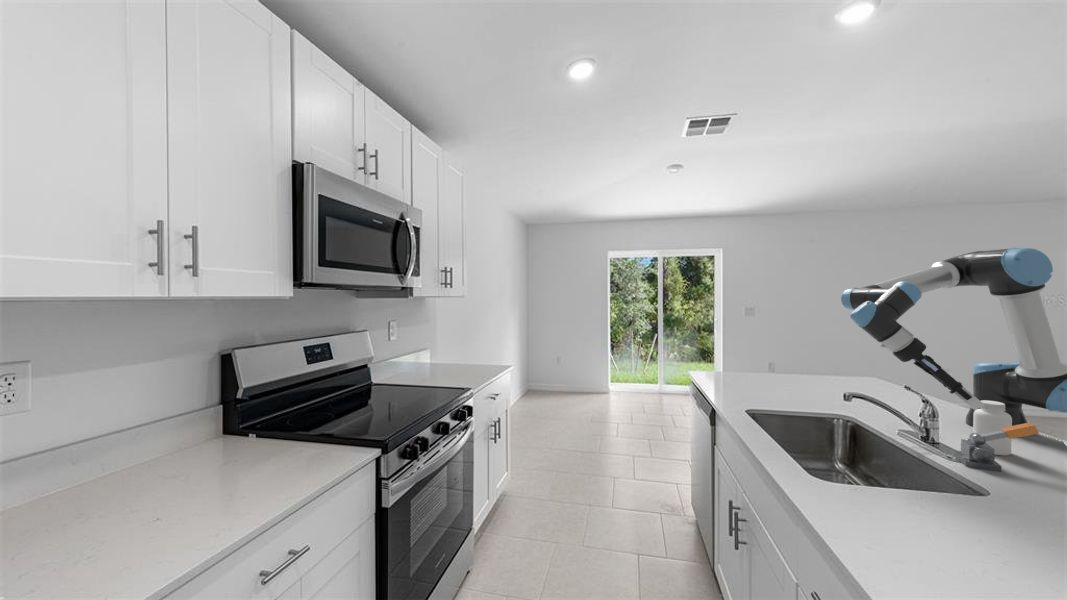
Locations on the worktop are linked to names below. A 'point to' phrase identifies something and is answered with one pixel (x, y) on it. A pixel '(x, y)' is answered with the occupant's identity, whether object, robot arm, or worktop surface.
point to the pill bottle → (993, 424)
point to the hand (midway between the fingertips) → (978, 406)
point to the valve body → (977, 455)
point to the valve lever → (1005, 433)
